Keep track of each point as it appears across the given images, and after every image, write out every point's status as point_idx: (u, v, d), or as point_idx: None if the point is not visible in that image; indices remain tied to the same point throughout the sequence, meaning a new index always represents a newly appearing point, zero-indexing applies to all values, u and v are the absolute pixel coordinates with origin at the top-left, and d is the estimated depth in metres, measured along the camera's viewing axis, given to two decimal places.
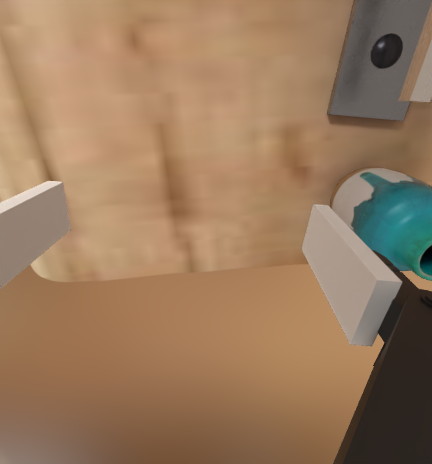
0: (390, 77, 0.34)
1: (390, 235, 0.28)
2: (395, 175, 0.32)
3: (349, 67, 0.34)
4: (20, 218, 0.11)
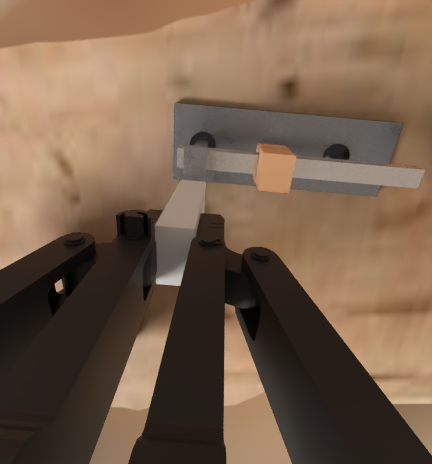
0: (358, 147, 0.37)
1: None
2: None
3: (341, 186, 0.39)
4: None
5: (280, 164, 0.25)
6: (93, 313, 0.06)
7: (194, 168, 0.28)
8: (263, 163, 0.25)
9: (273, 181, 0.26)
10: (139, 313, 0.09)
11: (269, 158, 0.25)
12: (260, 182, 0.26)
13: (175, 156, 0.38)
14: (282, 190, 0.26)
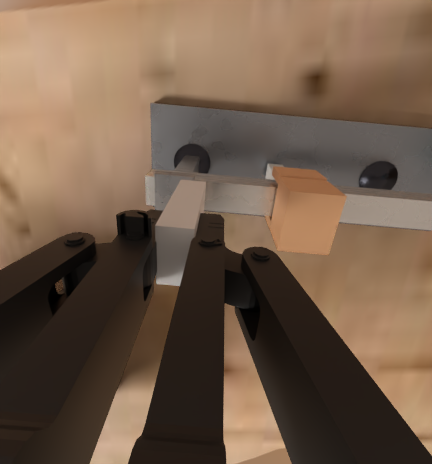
0: (410, 166, 0.26)
1: None
2: None
3: None
4: None
5: (318, 210, 0.14)
6: (93, 313, 0.06)
7: None
8: (287, 208, 0.14)
9: (303, 237, 0.15)
10: (139, 313, 0.09)
11: (298, 200, 0.14)
12: (280, 237, 0.15)
13: None
14: (318, 250, 0.16)
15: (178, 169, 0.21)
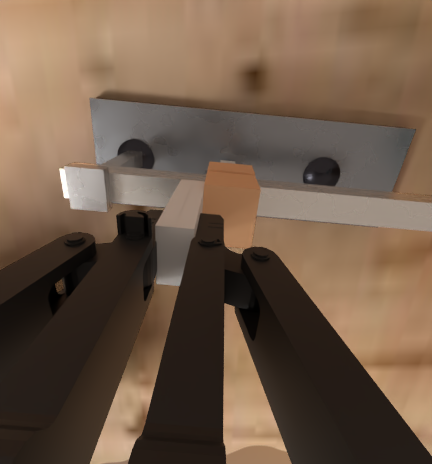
0: (352, 162, 0.26)
1: None
2: None
3: None
4: None
5: (234, 203, 0.15)
6: (93, 313, 0.06)
7: (88, 202, 0.17)
8: (204, 201, 0.15)
9: None
10: (139, 313, 0.09)
11: (214, 193, 0.14)
12: None
13: None
14: (240, 244, 0.16)
15: (107, 163, 0.21)
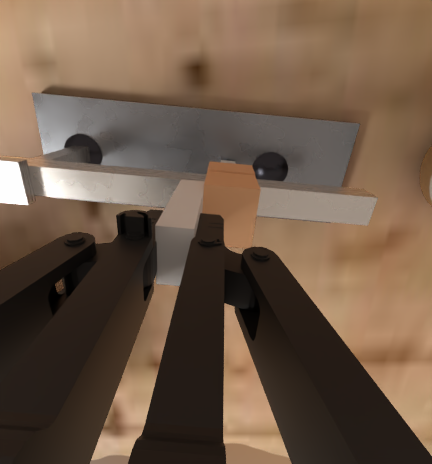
0: (299, 157, 0.26)
1: None
2: None
3: None
4: None
5: (234, 203, 0.15)
6: (93, 313, 0.06)
7: (7, 194, 0.17)
8: (204, 201, 0.15)
9: None
10: (139, 313, 0.09)
11: (214, 193, 0.14)
12: None
13: None
14: (240, 244, 0.16)
15: (39, 157, 0.21)
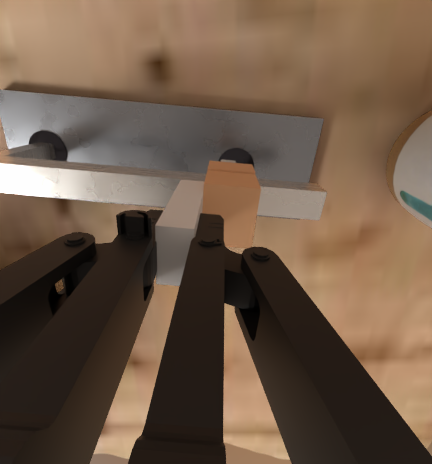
0: (264, 153, 0.26)
1: None
2: (429, 184, 0.19)
3: None
4: None
5: (234, 203, 0.14)
6: (93, 313, 0.06)
7: None
8: (204, 201, 0.14)
9: None
10: (139, 313, 0.09)
11: (214, 193, 0.14)
12: None
13: None
14: (240, 244, 0.15)
15: None
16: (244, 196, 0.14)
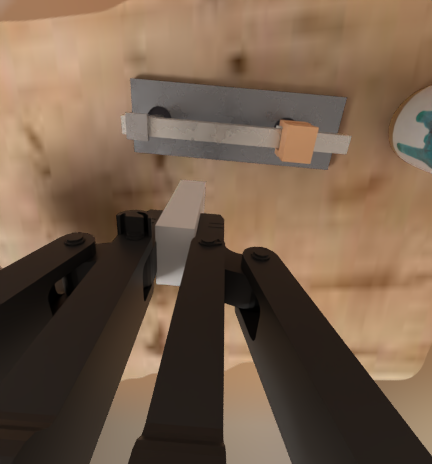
0: (305, 121, 0.39)
1: None
2: (413, 134, 0.31)
3: None
4: None
5: (303, 136, 0.27)
6: (93, 313, 0.06)
7: (136, 134, 0.30)
8: (287, 135, 0.27)
9: (296, 152, 0.28)
10: (139, 313, 0.09)
11: (293, 130, 0.27)
12: (283, 153, 0.28)
13: None
14: (304, 161, 0.28)
15: None
16: (309, 132, 0.27)
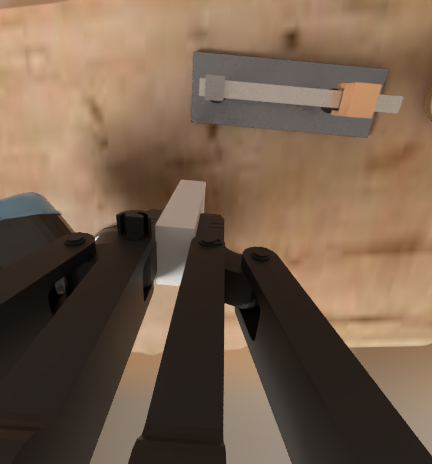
0: None
1: None
2: None
3: (336, 128, 0.45)
4: None
5: (368, 92, 0.31)
6: (93, 313, 0.06)
7: (214, 95, 0.34)
8: (354, 91, 0.31)
9: (360, 108, 0.32)
10: (139, 313, 0.09)
11: (359, 87, 0.31)
12: (349, 108, 0.32)
13: (193, 101, 0.44)
14: (366, 115, 0.32)
15: None
16: (373, 88, 0.31)
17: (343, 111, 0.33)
